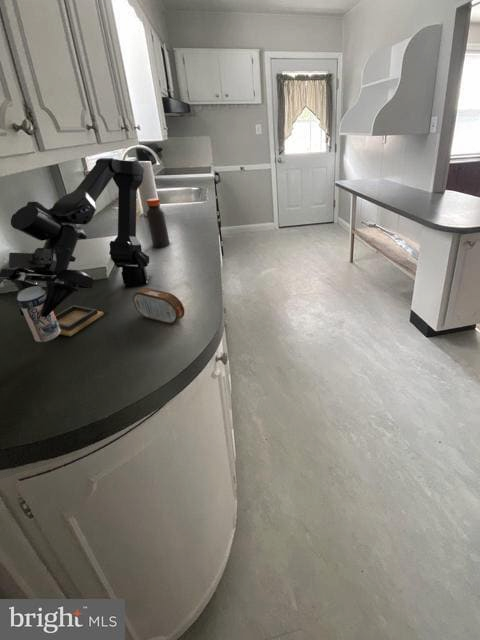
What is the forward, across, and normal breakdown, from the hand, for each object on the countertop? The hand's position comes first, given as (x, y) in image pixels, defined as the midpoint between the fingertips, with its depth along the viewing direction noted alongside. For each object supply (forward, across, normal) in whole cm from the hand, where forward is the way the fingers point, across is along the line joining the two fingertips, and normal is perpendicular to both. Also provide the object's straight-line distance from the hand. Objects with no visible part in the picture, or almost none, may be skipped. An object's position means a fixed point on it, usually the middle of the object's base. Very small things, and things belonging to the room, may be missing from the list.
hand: (32, 315), depth 65 cm
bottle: (-40, -10, +56) cm, 70 cm away
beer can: (+4, 0, +6) cm, 7 cm away
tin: (-4, +19, +18) cm, 26 cm away
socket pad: (-1, -4, +15) cm, 16 cm away
